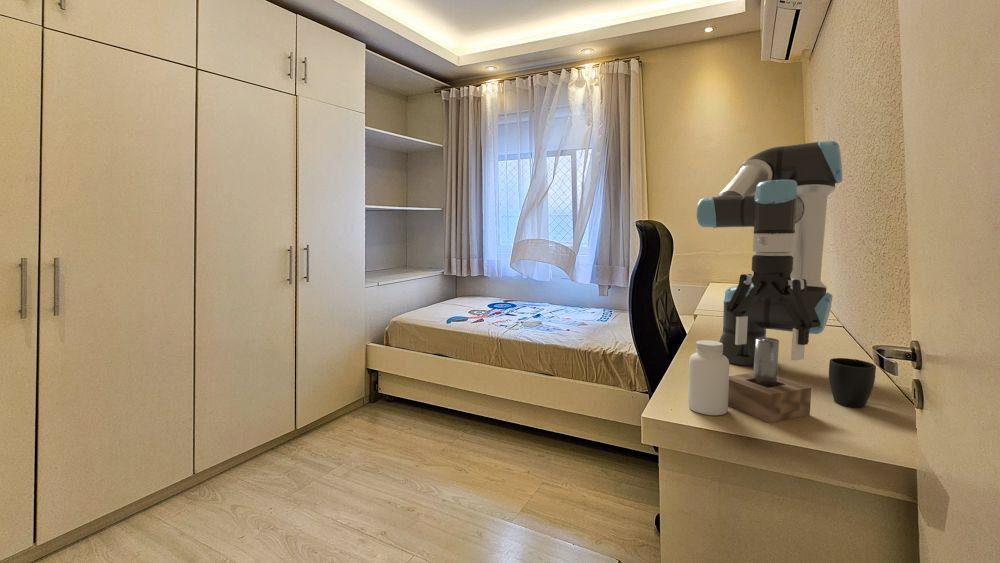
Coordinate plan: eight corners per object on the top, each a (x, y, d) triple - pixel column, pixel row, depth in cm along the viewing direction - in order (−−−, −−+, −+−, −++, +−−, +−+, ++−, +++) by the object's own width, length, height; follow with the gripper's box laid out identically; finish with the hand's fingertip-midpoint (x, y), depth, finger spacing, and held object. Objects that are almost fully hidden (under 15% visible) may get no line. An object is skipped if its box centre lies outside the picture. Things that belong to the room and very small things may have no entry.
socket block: (759, 396, 105) (760, 371, 105) (809, 414, 94) (811, 387, 94) (720, 402, 101) (721, 377, 101) (768, 423, 90) (770, 394, 89)
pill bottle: (686, 400, 103) (689, 337, 101) (725, 405, 100) (728, 340, 98) (688, 413, 95) (690, 345, 94) (729, 418, 92) (733, 348, 91)
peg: (761, 396, 100) (765, 336, 99) (780, 403, 96) (783, 341, 95) (747, 399, 99) (750, 338, 97) (765, 406, 95) (768, 343, 93)
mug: (878, 399, 103) (881, 359, 102) (869, 413, 95) (872, 370, 94) (835, 390, 109) (837, 353, 108) (822, 403, 101) (825, 362, 100)
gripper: (712, 252, 105) (709, 340, 107) (819, 257, 81) (812, 369, 84) (736, 251, 107) (732, 337, 110) (847, 256, 84) (839, 365, 86)
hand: (767, 351), depth 97 cm, fingers open, 13 cm apart
